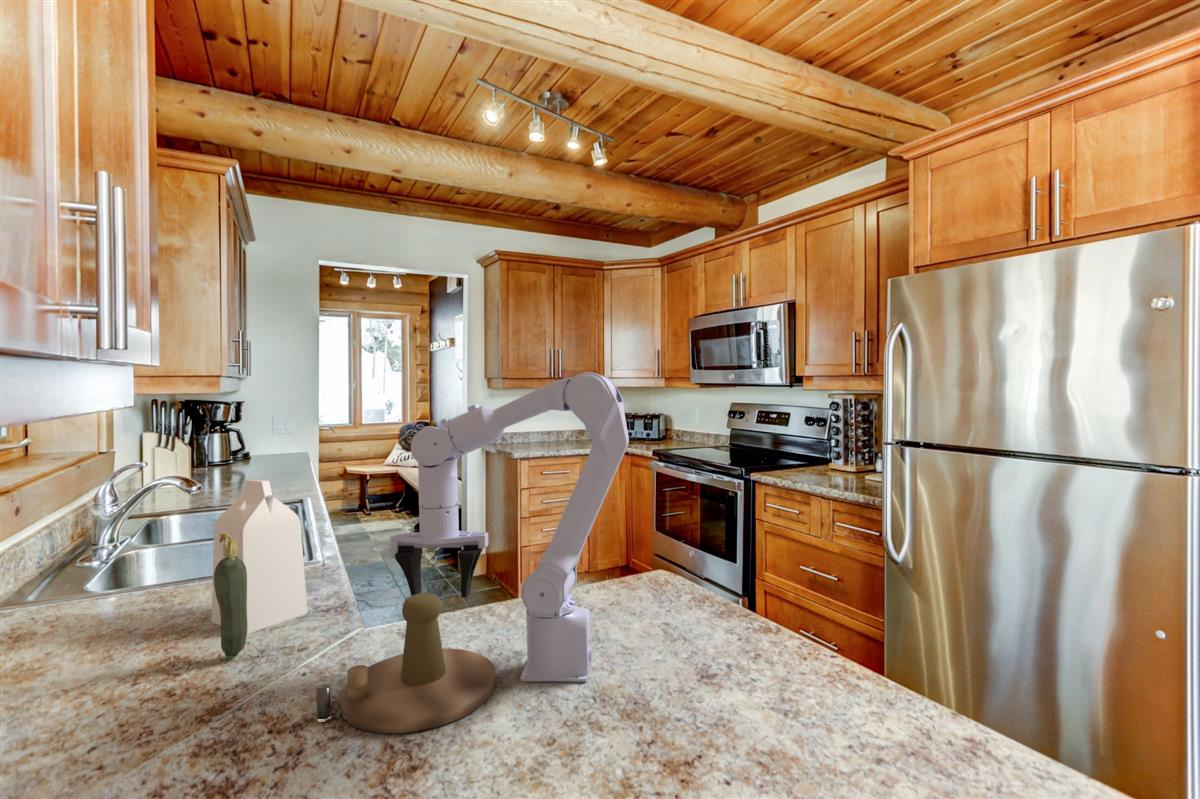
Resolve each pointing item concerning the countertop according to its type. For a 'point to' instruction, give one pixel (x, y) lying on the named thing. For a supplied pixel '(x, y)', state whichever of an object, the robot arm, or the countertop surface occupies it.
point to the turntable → (416, 694)
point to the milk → (264, 556)
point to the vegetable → (231, 598)
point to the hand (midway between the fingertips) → (440, 595)
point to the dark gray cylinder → (323, 701)
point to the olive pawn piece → (422, 640)
